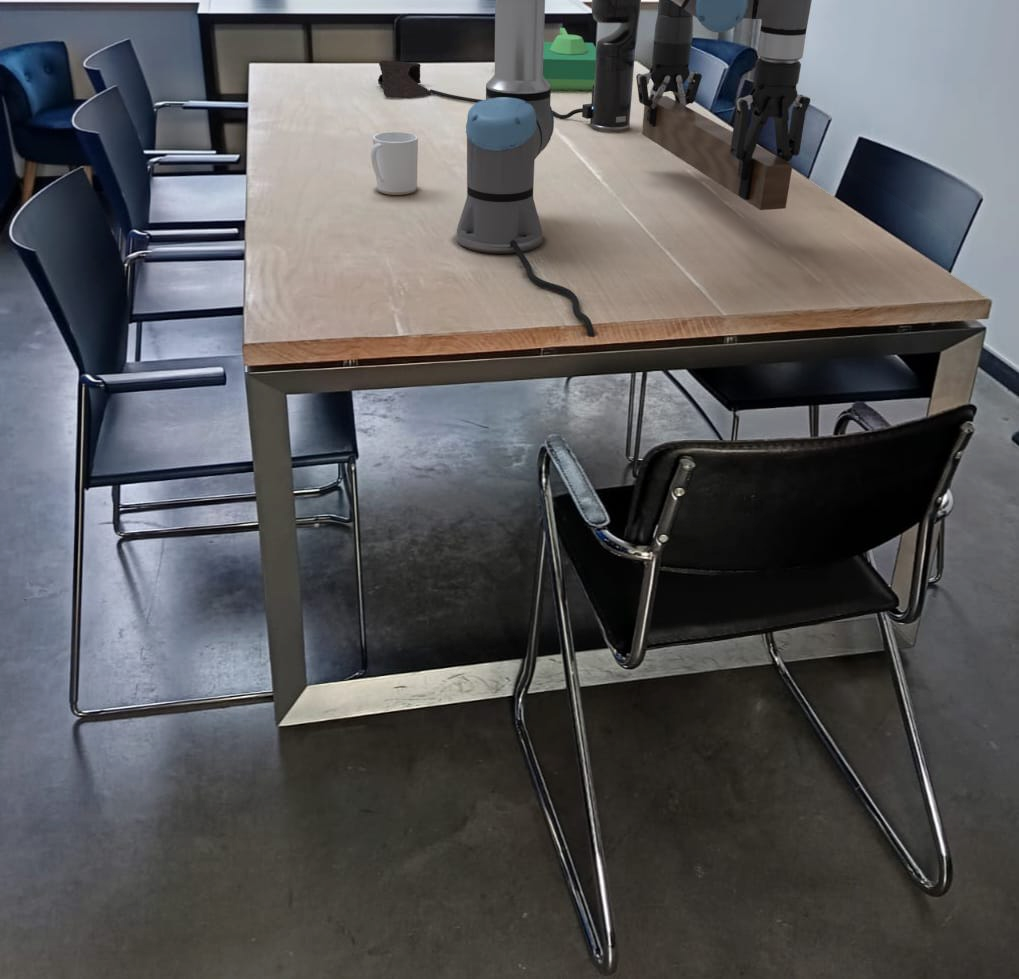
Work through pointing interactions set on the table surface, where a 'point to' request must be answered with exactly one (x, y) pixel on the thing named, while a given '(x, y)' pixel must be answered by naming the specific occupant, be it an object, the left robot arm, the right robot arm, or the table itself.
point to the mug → (395, 162)
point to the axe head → (401, 79)
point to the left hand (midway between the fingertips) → (758, 196)
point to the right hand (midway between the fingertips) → (664, 124)
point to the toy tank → (569, 62)
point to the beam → (717, 153)
